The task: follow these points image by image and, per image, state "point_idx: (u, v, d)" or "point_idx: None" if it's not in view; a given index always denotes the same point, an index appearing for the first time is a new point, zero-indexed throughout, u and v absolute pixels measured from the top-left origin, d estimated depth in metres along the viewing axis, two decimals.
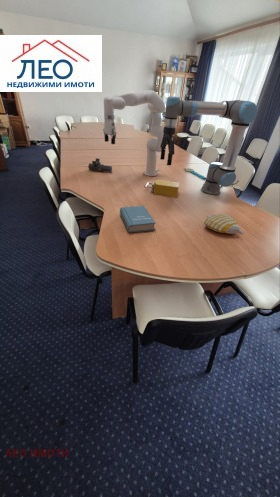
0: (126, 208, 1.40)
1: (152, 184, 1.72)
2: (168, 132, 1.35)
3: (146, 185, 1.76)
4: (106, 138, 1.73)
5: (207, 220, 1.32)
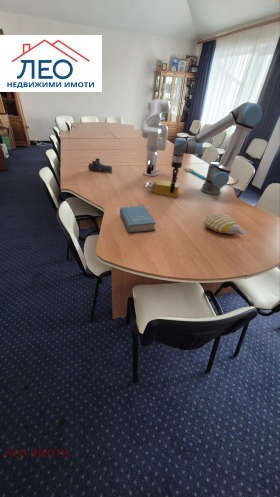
0: (126, 208, 1.40)
1: (152, 184, 1.72)
2: (173, 166, 1.61)
3: (146, 185, 1.76)
4: None
5: (207, 220, 1.32)
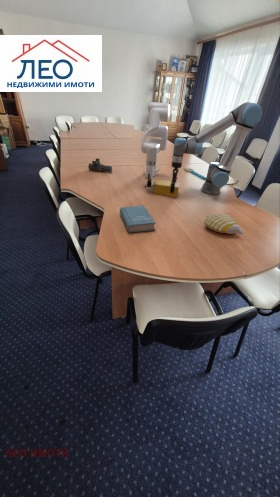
0: (126, 208, 1.40)
1: (152, 184, 1.72)
2: (173, 166, 1.61)
3: (146, 185, 1.76)
4: None
5: (207, 220, 1.32)
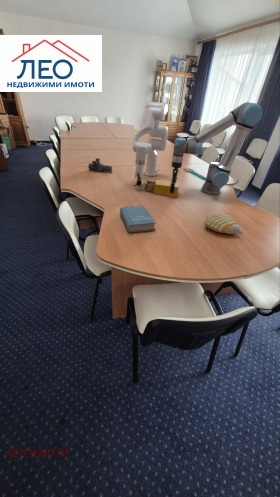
0: (126, 208, 1.40)
1: (142, 183, 1.73)
2: (173, 166, 1.61)
3: (136, 184, 1.77)
4: None
5: (207, 220, 1.32)
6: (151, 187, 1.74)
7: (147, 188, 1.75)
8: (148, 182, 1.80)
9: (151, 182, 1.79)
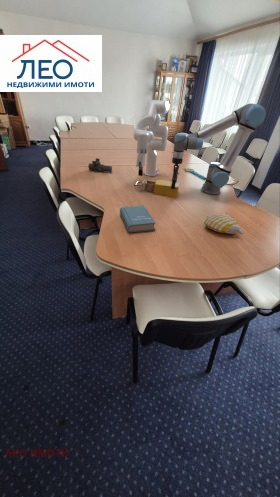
0: (126, 208, 1.40)
1: (142, 182, 1.73)
2: (174, 162, 1.60)
3: (136, 184, 1.77)
4: None
5: (207, 220, 1.32)
6: (151, 187, 1.74)
7: (147, 188, 1.75)
8: (148, 182, 1.80)
9: (151, 182, 1.79)
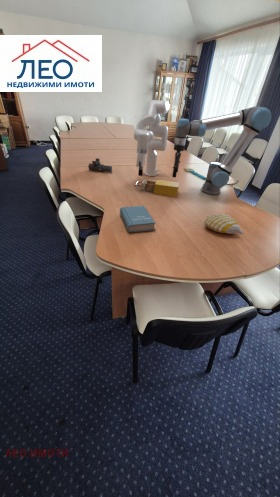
0: (126, 208, 1.40)
1: (142, 182, 1.73)
2: (176, 149, 1.54)
3: (136, 184, 1.77)
4: None
5: (207, 220, 1.32)
6: (151, 187, 1.74)
7: (147, 188, 1.75)
8: (148, 182, 1.80)
9: (151, 182, 1.79)
